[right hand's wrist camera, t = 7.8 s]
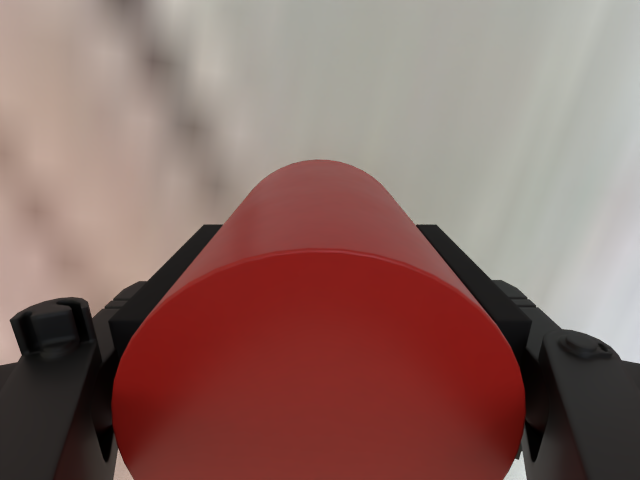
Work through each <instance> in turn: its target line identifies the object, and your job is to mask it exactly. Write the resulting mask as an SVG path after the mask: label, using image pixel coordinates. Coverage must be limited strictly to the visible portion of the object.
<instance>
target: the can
mask: <svg viewBox="0 0 640 480" xmlns="http://www.w3.org/2000/svg"><path fill="white" fill-rule="evenodd" d="M111 410H112V425H113V430H114V434H115V439H116V443H117V446H118V449H119V451H120V453H121V456H122V458H123V461H124V463H125V465H126V467H127V468H128V470H129V472H130V474H131V475H132V477H133V479H134V480H503V479H504V477H505V476H506V474H507V473H508V471H509V470H510V467H511V465H512V463H513V461H514V459H515V457H516V455H517V453H518V450H519V446H520V443H521V440H522V436H523V433H524V425H525V416H526V403H525V388H524V384H523V380H522V376H521V371H520V367H519V365H518V362H517V360H516V358H515V355H514V353H513V351H512V348H511V346H510V345H509V343H508V341H507V340H506V338H505V337H504V335H503V334H502V332H501V331H500V329H499V328H498V326H497V325H496V323H495V322H494V321H493V320H492V319H491V317H490V316H489V315H488V314H487V312H486V311H485V310H484V309H483V308H482V306H481V305H480V304H479V303H478V301H477V300H476V299H475V298H474V296H473V295H472V294H471V293H470V292H469V290H468V289H467V288H466V287H465V285H464V284H463V283H462V282H461V281H460V279H459V278H458V277H457V276H456V274H455V273H454V272H453V271H452V270H451V268H450V267H449V266H448V265H447V263H446V262H445V261H444V260H443V259H442V257H441V256H440V255H439V254H438V252H437V251H436V250H435V249H434V247H433V246H432V245H431V244H430V243H429V241H428V240H427V239H426V238H425V236H424V235H423V234H422V233H421V232H420V230H419V229H418V228H417V227H416V225H415V224H414V223H413V222H412V221H411V219H410V218H409V217H408V216H407V214H406V213H405V212H404V211H403V209H402V208H401V207H400V206H399V205H398V203H397V202H396V201H395V200H394V198H393V197H392V196H391V195H390V194H389V192H388V191H387V190H386V189H385V188H384V187H383V186H382V185H381V184H380V183H379V182H378V181H377V180H376V179H374V178H373V177H372V176H370V175H369V174H367V173H366V172H364V171H363V170H360V169H358V168H356V167H354V166H352V165H348V164H345V163H342V162H337V161H331V160H308V161H302V162H297V163H293V164H290V165H288V166H285V167H283V168H280V169H278V170H277V171H275V172H273V173H271V174H270V175H268V176H267V177H266V178H264V179H263V180H262V181H261V182H260V183H259V184H258V185H257V186H256V187H255V188H254V189H253V190H252V191H251V192H250V193H249V194H248V196H247V197H246V198H245V199H244V201H243V202H242V203H241V204H240V205H239V207H238V208H237V209H236V210H235V211H234V213H233V214H232V215H231V216H230V217H229V219H228V220H227V221H226V222H225V223H224V225H223V226H222V227H221V228H220V229H219V231H218V232H217V233H216V234H215V235H214V237H213V238H212V239H211V240H210V241H209V243H208V244H207V245H206V246H205V247H204V249H203V250H202V251H201V252H200V253H199V255H198V256H197V257H196V258H195V259H194V261H193V262H192V263H191V264H190V265H189V267H188V268H187V269H186V270H185V272H184V273H183V274H182V275H181V276H180V278H179V279H178V280H177V281H176V282H175V284H174V285H173V286H172V287H171V288H170V290H169V291H168V292H167V293H166V294H165V296H164V297H163V298H162V299H161V300H160V302H159V303H158V304H157V305H156V306H155V308H154V309H153V310H152V311H151V312H150V314H149V315H148V316H147V317H146V319H145V320H144V321H143V323H142V324H141V325H140V327H139V328H138V329H137V331H136V332H135V333H134V335H133V336H132V337H131V339H130V341H129V343H128V345H127V347H126V349H125V351H124V353H123V355H122V357H121V359H120V362H119V366H118V369H117V372H116V375H115V379H114V384H113V392H112V401H111Z"/></svg>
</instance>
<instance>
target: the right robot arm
mask: <svg viewBox="0 0 640 480" xmlns="http://www.w3.org/2000/svg"><path fill="white" fill-rule="evenodd" d="M222 226H223V225H203V226H202V227H201V228H200V229H199V230H198V231H197V232H196V233H195V234H194V235H193V236H192V237H191V238H190V239H189V240H188V241H187V242H186V243H185V244H184V245H183V246H182V247H181V248H180V249H179V250H178V251H177V252H176V253H175V254H174V255H173V256H172V257H171V258H170V259H169V260H168V261H167V262H166V263H165V264H164V265H163V266H162V267H161V268H160V269H159V270H158V271H157V272H156V273H155V274H154V275H153V276H152V277H151V278H150V279H149V280H148V281H139V282H137V283H135V284H133V285H131V286H129V287H127V288H125V289H123V290H122V291H121V292H120V293H119V294H118V295H117V296H116V297H115V298H114V299H113V301H110V302H109V303H108V304H107V305H106V306H105V309H102V310H101V311H100V312H98V313H97V314H96V315H95V316H94V317H93V318H92V317H91V313H90V309H89V305H88V302H87V301H86V300H84V299H82V298H75V297H68V298H58V299H53V300H49V301H44V302H41V303H39V304H36V305H33V306H30V307H28V308H26V309H24V310H23V311H21V312H19V313H17V314H16V315H15V316H14V317H13V318H12V319H10V322H11V325H12V328H13V331H14V334H15V337H16V340H17V343H18V345H19V348H20V351H21V354H22V356H21V358H20V359H19V361H18V362H16V363H11V364H6V365H0V480H113V477H114V471H115V465H116V458H117V452H118V446H117V443H116V439H115V434H114V430H113V425H112V410H111V401H112V392H113V384H114V379H115V375H116V372H117V369H118V366H119V362H120V359H121V357H122V355H123V353H124V351H125V349H126V347H127V345H128V343H129V341H130V339H131V337H132V336H133V335H134V333H135V332H136V331H137V329H138V328H139V327H140V325H141V324H142V323H143V321H144V320H145V319H146V317H147V316H148V315H149V314H150V312H151V311H152V310H153V309H154V308H155V306H156V305H157V304H158V303H159V302H160V300H161V299H162V298H163V297H164V296H165V294H166V293H167V292H168V291H169V290H170V288H171V287H172V286H173V285H174V284H175V282H176V281H177V280H178V279H179V278H180V276H181V275H182V274H183V273H184V272H185V270H186V269H187V268H188V267H189V265H190V264H191V263H192V262H193V261H194V259H195V258H196V257H197V256H198V255H199V253H200V252H201V251H202V250H203V249H204V247H205V246H206V245H207V244H208V243H209V241H210V240H211V239H212V238H213V237H214V235H215V234H216V233H217V232H218V231H219V229H220V228H221V227H222ZM416 227H417V228H418V229H419V230H420V232H421V233H422V234H423V235H424V236H425V238H426V239H427V240H428V241H429V243H430V244H431V245H432V246H433V247H434V249H435V250H436V251H437V252H438V254H439V255H440V256H441V257H442V259H443V260H444V261H445V262H446V263H447V265H448V266H449V267H450V268H451V270H452V271H453V272H454V273H455V274H456V276H457V277H458V278H459V279H460V281H461V282H462V283H463V284H464V285H465V287H466V288H467V289H468V290H469V292H470V293H471V294H472V295H473V296H474V298H475V299H476V300H477V301H478V303H479V304H480V305H481V306H482V308H483V309H484V310H485V311H486V312H487V314H488V315H489V316H490V317H491V319H492V320H493V321H494V322H495V323H496V325H497V326H498V328H499V329H500V331H501V332H502V334H503V335H504V337H505V338H506V340H507V341H508V343H509V345H510V346H511V348H512V351H513V353H514V355H515V358H516V360H517V362H518V365H519V367H520V371H521V376H522V380H523V384H524V388H525V403H526V416H525V425H524V433H523V436H522V440H521V443H520V446H519V450H518V453H517V455H516V457H515V459H518V460H519V457H520V453H521V451H523V457H524V464H525V470H526V476H527V480H640V364H639V363H633V362H628V361H622V360H621V359H620V357H619V355H618V354H617V353H616V352H615V351H614V350H613V349H612V348H611V347H610V346H609V345H607V344H605V343H604V342H602V341H601V340H599V339H597V338H594V337H592V336H590V335H587V334H584V333H581V332H577V331H573V330H564V329H561V328H560V327H559V326H558V325H557V324H556V323H555V322H554V321H552V320H551V319H550V318H549V317H548V316H547V315H546V314H545V313H544V312H543V311H541V310H540V309H539V308H538V307H536V305H535V304H534V303H533V302H532V301H531V300H529V299H527V297H526V296H525V295H524V294H523V293H522V292H521V291H520V290H518V289H517V288H516V287H514V286H512V285H510V284H508V283H506V282H504V281H502V280H491V279H490V278H489V277H488V276H487V275H486V274H485V273H484V272H483V271H482V270H481V269H480V268H479V267H478V266H477V265H476V264H475V263H474V262H473V261H472V260H471V259H470V258H469V257H468V256H467V255H466V254H465V253H464V252H463V251H462V250H461V249H460V248H459V247H458V246H457V245H456V244H455V243H454V242H453V241H452V240H451V239H450V238H449V237H448V236H447V235H446V234H445V233H444V232H443V231H442V230H441V229H440V228H439V227H438V226H437V225H416Z"/></svg>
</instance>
